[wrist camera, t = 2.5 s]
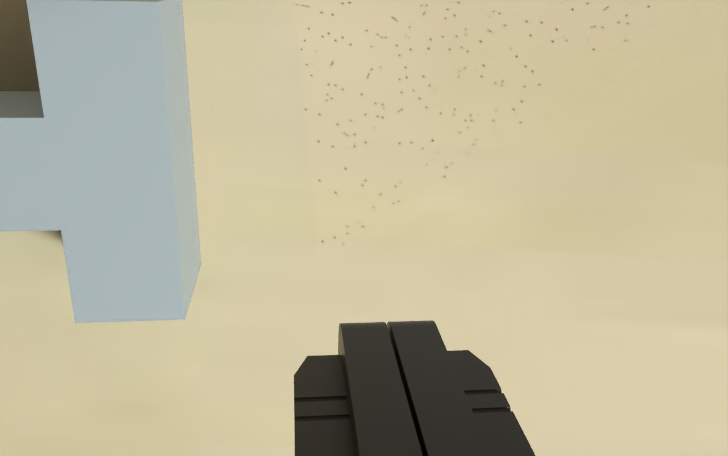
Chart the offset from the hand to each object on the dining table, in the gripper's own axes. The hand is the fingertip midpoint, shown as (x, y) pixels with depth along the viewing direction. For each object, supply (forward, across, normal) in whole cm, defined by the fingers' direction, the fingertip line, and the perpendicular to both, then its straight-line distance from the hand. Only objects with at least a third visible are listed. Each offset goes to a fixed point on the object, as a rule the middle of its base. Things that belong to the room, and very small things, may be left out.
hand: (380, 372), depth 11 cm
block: (+16, +5, 0) cm, 16 cm away
